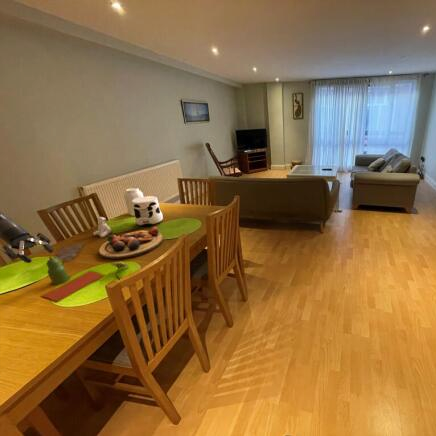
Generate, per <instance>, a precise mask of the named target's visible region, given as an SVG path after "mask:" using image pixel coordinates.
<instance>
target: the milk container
mask: <svg viewBox="0 0 436 436" xmlns="http://www.w3.org/2000/svg"><path fill="white" fill-rule="evenodd" d="M132 205H133V209H134V212H135V216H134V222H135V223H136V225H138V226H141V227H148V226H153V225H157V224H160V223H161V222H162V221H163V218H164V217H163V215H164V214H163V213H162V211H161V208H160V204H159V201H158V197H156V196H155V195H146V196H143V197H139V198H136V199H134V200H132Z"/></svg>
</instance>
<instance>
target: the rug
mask: <svg viewBox="0 0 436 436" xmlns="http://www.w3.org/2000/svg"><path fill="white" fill-rule="evenodd" d="M83 245H84V243H81V244H77V243H76V244H73V245H70V246H68V245H67V246H63V247H62V248H61V249H59V251H57V254H56V256H54V257H53V258H52V259H57V260H58V261H59V263H60V262H64V261H71V260H74V257H76V256H77V254H78V253H79V252H80V250H81V248H82V247H83ZM67 250H68V251H67Z"/></svg>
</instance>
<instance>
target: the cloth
mask: <svg viewBox="0 0 436 436" xmlns="http://www.w3.org/2000/svg"><path fill="white" fill-rule="evenodd" d="M104 276H105V275H104V274H101V273H98V272H94V271H92V270H88V271H87V272H85V273H83V274H81V275H79V276H78V277H76V278H73V279H72V280H70V281H68V282H66V283H64V284H62V285H60V286H58V287H56V288H54V289H53V290H50V291H48V292H46V293H45V294H43V295H42V297H43V298H46V299H48V300H51V301H54V302H56V303H58V302H59V301H61V300H63V299H65V298H67V297H69V296H70V295H72V294H75V293H76V292H78V291H80V290H81V289H83V288H84V287H87V286H88V285H90V284H92V283H94V282H96V281H97V280H99V279H101V278H102V277H104Z"/></svg>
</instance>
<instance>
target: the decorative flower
mask: <svg viewBox="0 0 436 436" xmlns="http://www.w3.org/2000/svg"><path fill="white" fill-rule="evenodd" d="M110 265H111V266H112V267H115V268H117V270H116V276H117V278H119V280H121V278H122V277H121V276H120V275H119V270H120V269H127V268H130V266H129V265H128V264H126V263H124V262H123V261H119V262H111V263H110Z"/></svg>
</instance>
